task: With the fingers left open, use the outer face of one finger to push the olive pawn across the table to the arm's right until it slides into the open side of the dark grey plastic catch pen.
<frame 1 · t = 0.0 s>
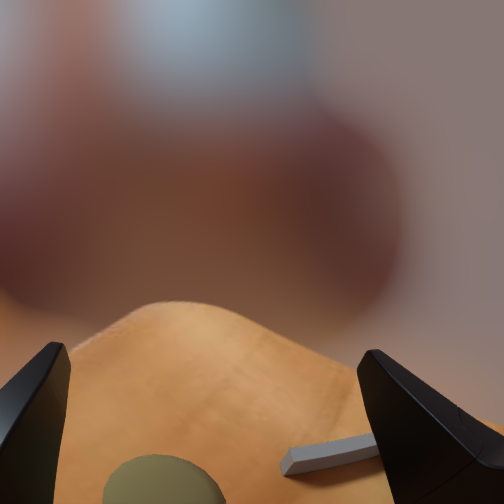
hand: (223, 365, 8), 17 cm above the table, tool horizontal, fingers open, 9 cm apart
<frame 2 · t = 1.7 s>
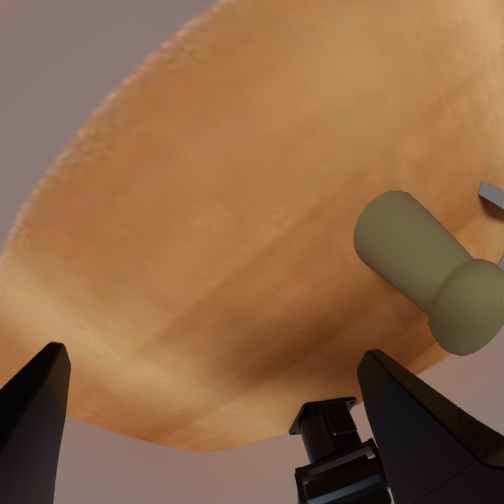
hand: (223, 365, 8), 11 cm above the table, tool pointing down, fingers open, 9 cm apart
olive pawn: (388, 229, 21), on the table
catch pen: (485, 245, 24), on the table
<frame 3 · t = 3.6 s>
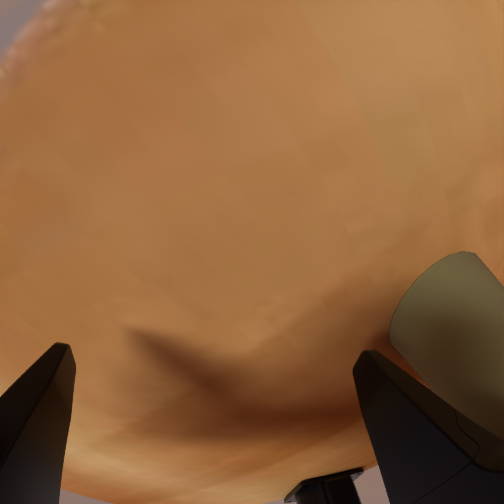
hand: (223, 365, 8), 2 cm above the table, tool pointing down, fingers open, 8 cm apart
olive pawn: (439, 304, 13), on the table, touching gripper
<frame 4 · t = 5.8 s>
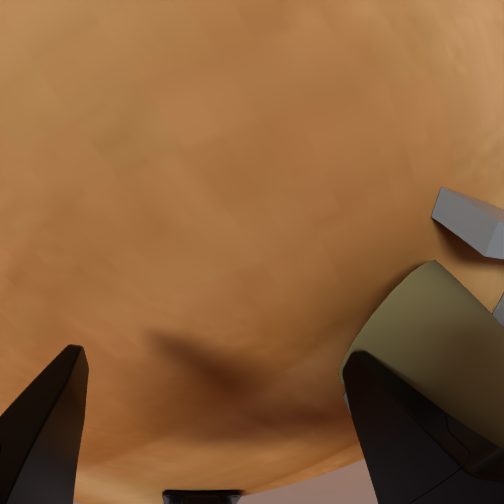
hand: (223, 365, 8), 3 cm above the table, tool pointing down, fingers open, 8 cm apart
olive pawn: (392, 324, 11), point 1 cm above the table, touching gripper
catch pen: (453, 311, 13), on the table
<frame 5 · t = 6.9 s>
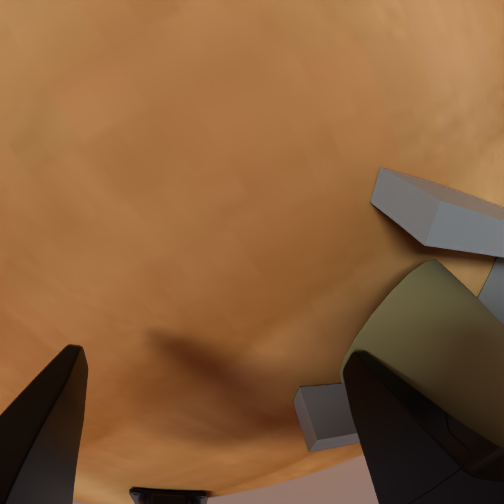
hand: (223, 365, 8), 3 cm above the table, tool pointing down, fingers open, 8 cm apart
olive pawn: (392, 323, 11), point 1 cm above the table, touching gripper
catch pen: (416, 312, 13), on the table
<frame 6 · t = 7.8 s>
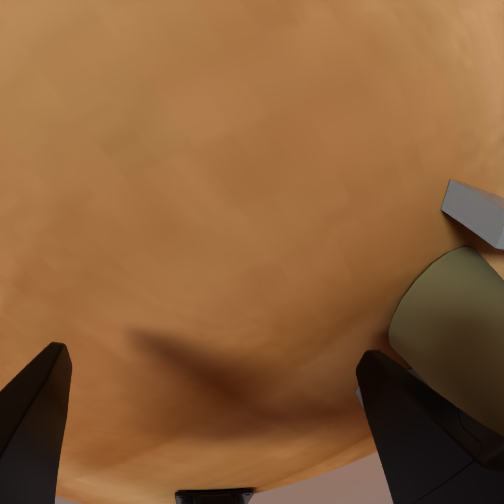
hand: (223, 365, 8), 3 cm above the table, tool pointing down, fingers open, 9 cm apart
olive pawn: (437, 302, 12), on the table
catch pen: (463, 303, 13), on the table
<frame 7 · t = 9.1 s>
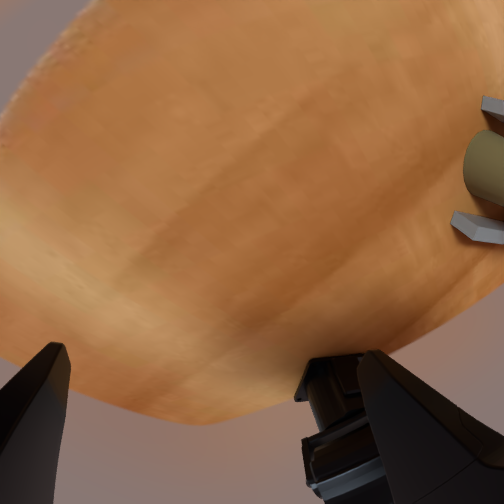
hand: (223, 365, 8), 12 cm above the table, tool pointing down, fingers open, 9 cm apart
olive pawn: (483, 163, 20), on the table
catch pen: (496, 171, 21), on the table
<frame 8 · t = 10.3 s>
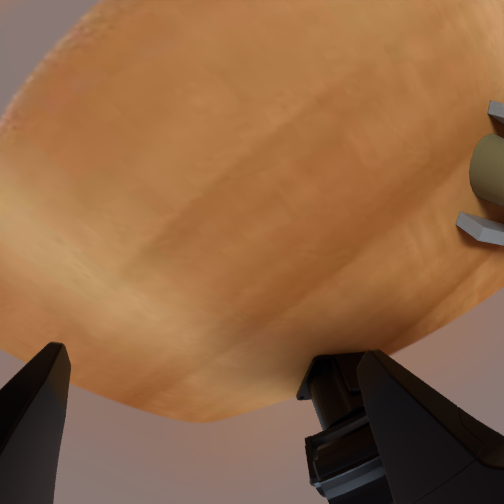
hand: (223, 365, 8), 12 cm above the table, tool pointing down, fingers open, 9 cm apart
olive pawn: (488, 166, 21), on the table
catch pen: (501, 175, 21), on the table
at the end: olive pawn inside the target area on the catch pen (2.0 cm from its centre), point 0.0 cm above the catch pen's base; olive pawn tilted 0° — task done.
